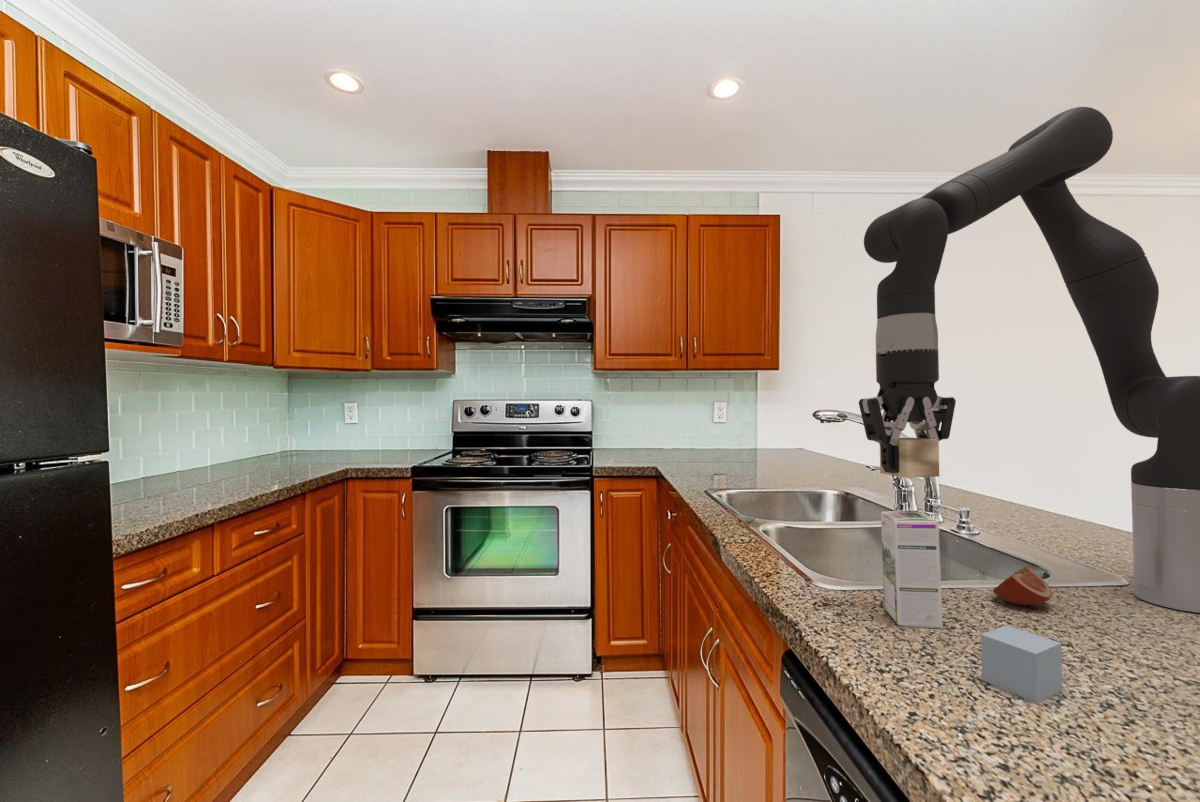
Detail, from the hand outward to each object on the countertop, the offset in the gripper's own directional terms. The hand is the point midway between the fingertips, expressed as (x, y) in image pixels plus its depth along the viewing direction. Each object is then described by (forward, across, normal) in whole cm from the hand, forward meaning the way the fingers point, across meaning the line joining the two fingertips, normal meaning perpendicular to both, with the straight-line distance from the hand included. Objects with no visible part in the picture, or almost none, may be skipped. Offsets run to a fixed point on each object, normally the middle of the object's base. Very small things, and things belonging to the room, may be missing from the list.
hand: (908, 471), depth 72 cm
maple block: (0, 0, 0) cm, 0 cm away
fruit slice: (+21, -20, -1) cm, 29 cm away
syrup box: (+21, 0, 0) cm, 21 cm away
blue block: (+21, +2, +17) cm, 27 cm away
